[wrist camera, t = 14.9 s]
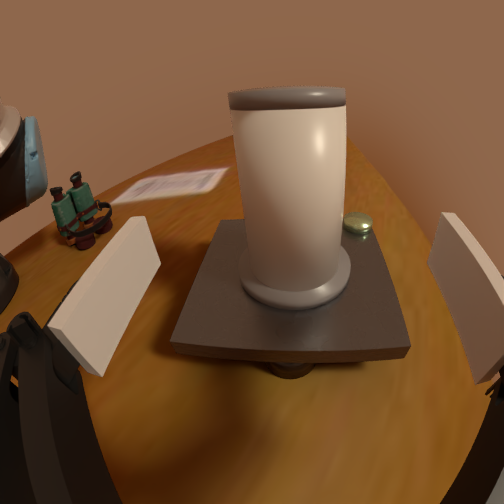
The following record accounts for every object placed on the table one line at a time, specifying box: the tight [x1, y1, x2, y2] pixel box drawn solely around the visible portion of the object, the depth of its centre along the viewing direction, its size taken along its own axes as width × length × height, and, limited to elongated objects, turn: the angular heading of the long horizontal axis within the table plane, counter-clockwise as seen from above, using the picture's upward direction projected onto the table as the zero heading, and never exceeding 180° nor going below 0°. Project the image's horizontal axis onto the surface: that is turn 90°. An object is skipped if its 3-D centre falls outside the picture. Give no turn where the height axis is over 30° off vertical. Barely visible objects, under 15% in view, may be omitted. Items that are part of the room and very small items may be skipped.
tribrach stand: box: [170, 212, 411, 379], centre depth 23 cm, size 16×16×5 cm
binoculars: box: [50, 171, 113, 249], centre depth 37 cm, size 9×11×10 cm
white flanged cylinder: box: [228, 86, 351, 310], centre depth 18 cm, size 9×9×14 cm
